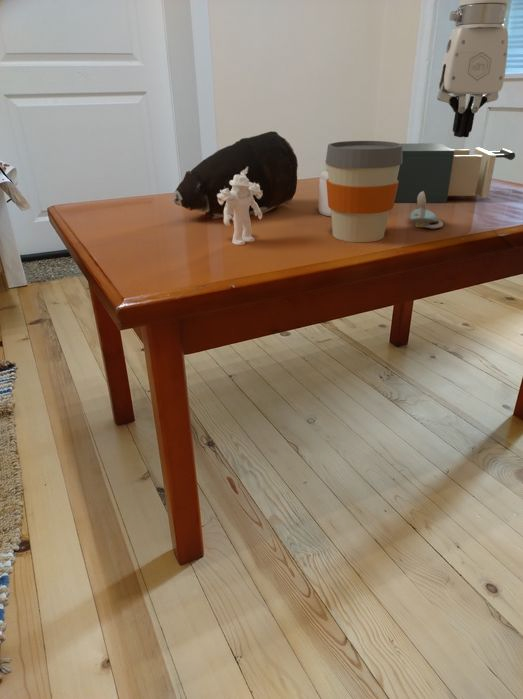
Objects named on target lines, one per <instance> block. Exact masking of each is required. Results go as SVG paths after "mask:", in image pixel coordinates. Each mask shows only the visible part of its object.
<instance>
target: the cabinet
mask: <svg viewBox="0 0 523 699" xmlns="http://www.w3.org/2000/svg"><path fill="white" fill-rule="evenodd" d="M401 144H402V164H401V165H400V167H399V172H398V176H397V180H398V181H399V183H398V187H397V192H396V196H395V200H394V204H395V203H396V204H397V203H398V204H399V203H400V204H401V203H404V204H405V203H406V204H407V203H408V204H409V203H410V204H411V203H412V204H418V203H417V197H418V195H419V193H420V192H422V191H424V193H425V198H426V204H447V203H448V197H449V196H448V190H449V184H450V177H451V171H452V164H453V158H454V150H452V149H453V148H450V147H448V146H446V145H445V144H443V143H440V142H437V143H435V142H433V143H431V142H430V143H426V142H425V143H424V142H423V143H422V142H421V143H420V142H419V143H401Z"/></svg>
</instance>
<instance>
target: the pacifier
mask: <svg viewBox="0 0 523 699" xmlns="http://www.w3.org/2000/svg"><path fill="white" fill-rule="evenodd" d="M416 204H417V206H418V207H419V208H416V209H414V210H412V211H411V213H410V214H409V215H410V216H409V217H410V222H411V223H415V227H417V228H425V229H432V230H433V229H434V230H435V229H440V228H442V227H443V226H444V222H443V221H442V220H441V219H438V217H437V215H436V214H435V213H434V212H432V211H431V210H429V209H427V203H426V198H425V193H424V191H422V192H420V193H419V195H418V197H417V203H416ZM431 223H435V224H431Z"/></svg>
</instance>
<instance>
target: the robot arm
mask: <svg viewBox="0 0 523 699" xmlns="http://www.w3.org/2000/svg"><path fill="white" fill-rule="evenodd" d="M508 2H509V0H459V7H457V9H456V10H452V11H450V14H449V21H452V22H455V25H454V26H456V27H455V28H453V29H452V30H451V32H450V36H449V38H448V42H447V45H446V47H445V48H446V49H445V52H444V57H443V61H442V64H441V70H440V76H439V81H438V82H439V83H438V88H439V91H438V93H437V97H436V100H437V101H440V102H443V103H446V104H448V105H449V106H450V107H451V109H452V111H453V112H454V118H453V123H452V124H453V125H452V132H453V136H454V137H455V138H456V137H457V138H469V136H470V133H471V132H472V130H473V125H474V120H475V114H476V113H478V112H479V109H481V108H482V107H483V106H484V105H485V104H488V103H492V102H494V101H495V102H496V101H497V100H498V99H499V92H500V91H501V90H502V89H503V86H504V82H505V77H506V69H507V63H508V62H507V60H508V49H509V28H507V27H504V24H505V20H506V14H507V8H508V4H509V3H508ZM451 94H452V95H451ZM467 95H469V97H468V100H467ZM466 100H467V101H466Z"/></svg>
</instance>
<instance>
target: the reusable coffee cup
mask: <svg viewBox="0 0 523 699" xmlns="http://www.w3.org/2000/svg"><path fill="white" fill-rule="evenodd" d="M402 144H403V143H400V142H394V141H385V140H383V141H382V140H344V141H336V142H330V143H328V144H327V149H326V156H325V159H326V164H327V165H328V178H329V179H327V180H326V184H327V196H328V207H329V208H330V209H331V216H330V217H331V229H332V230H331V231H332V237H334V238H335V239H337V240H339V241H343V242H350V243H371V242H377V241H380V240H382V239H384V237H385V234H386V230H387V229H386V228H387V224H388V220H389V216H390V211H391V210H393V208H394V206H395V203H394V200H395V196H396V192H397V187H398V183H399V181H398V180H397V176H398V172H399V167H400V165H401V164H402Z"/></svg>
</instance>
